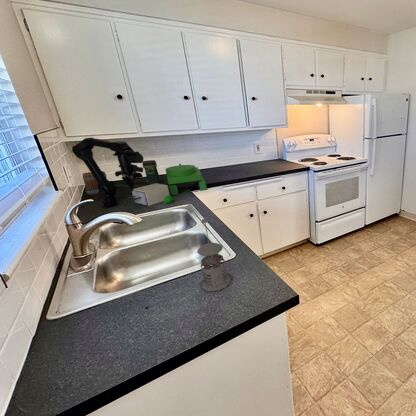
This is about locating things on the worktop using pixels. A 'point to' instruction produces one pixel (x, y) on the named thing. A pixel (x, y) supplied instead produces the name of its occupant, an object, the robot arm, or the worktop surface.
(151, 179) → the coffee jar
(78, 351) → the worktop surface
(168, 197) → the polyhedron
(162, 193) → the grey box
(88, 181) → the mug
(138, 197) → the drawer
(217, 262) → the french press
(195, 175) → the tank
